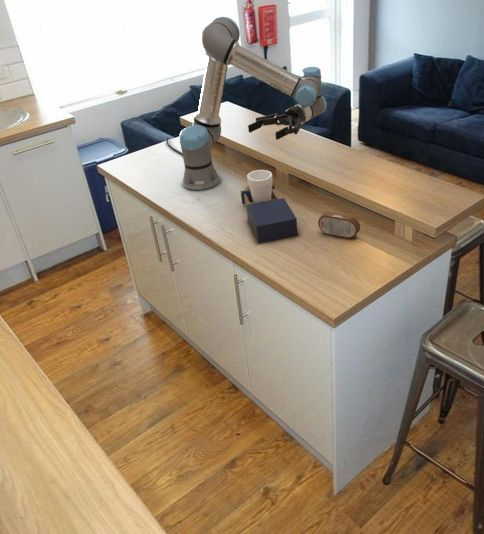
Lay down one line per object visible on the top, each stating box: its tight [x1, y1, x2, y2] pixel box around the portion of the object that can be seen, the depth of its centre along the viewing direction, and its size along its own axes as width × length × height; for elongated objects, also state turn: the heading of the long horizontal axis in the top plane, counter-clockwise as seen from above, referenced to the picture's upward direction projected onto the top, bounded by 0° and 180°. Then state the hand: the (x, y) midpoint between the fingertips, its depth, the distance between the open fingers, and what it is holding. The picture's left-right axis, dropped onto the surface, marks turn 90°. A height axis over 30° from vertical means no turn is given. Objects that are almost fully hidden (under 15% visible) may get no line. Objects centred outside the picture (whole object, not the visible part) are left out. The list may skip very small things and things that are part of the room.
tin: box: [317, 211, 361, 239], centre depth 197 cm, size 15×3×8 cm, turn 65°
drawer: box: [240, 184, 280, 207], centre depth 218 cm, size 22×13×5 cm, turn 16°
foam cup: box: [246, 169, 274, 203], centre depth 213 cm, size 10×9×13 cm
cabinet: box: [245, 197, 299, 244], centre depth 205 cm, size 17×15×7 cm
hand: (262, 132), depth 210 cm, fingers open, 13 cm apart
